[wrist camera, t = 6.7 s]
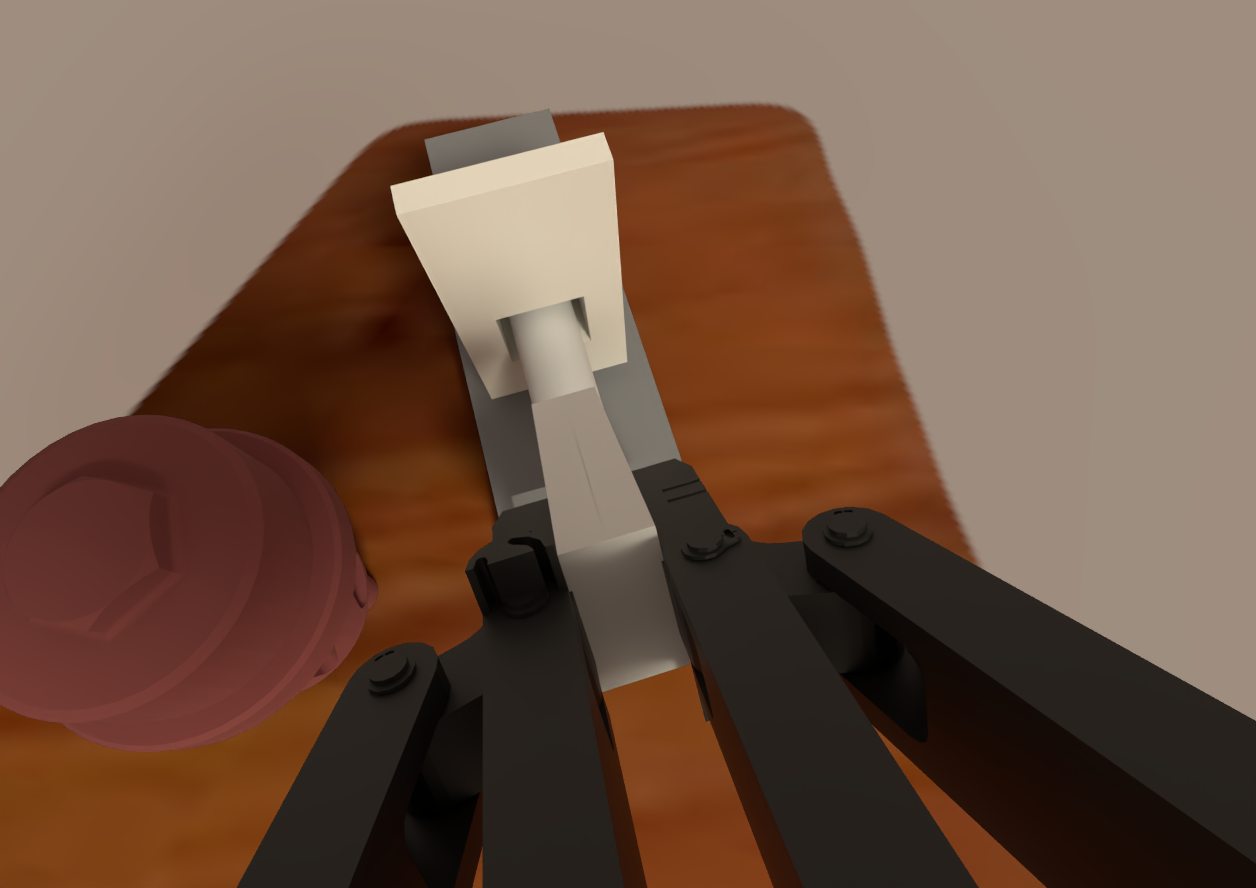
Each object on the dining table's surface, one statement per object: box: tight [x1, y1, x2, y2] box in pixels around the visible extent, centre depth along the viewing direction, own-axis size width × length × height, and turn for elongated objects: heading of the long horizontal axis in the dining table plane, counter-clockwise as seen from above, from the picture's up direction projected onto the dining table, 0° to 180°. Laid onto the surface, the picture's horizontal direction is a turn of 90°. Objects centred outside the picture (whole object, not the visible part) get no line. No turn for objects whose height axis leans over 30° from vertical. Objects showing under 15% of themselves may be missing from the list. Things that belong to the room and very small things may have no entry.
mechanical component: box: [0, 415, 378, 752], centre depth 24 cm, size 12×10×10 cm
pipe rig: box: [425, 109, 682, 517], centre depth 29 cm, size 17×8×8 cm, turn 16°
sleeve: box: [390, 132, 627, 399], centre depth 26 cm, size 4×6×12 cm, turn 106°
